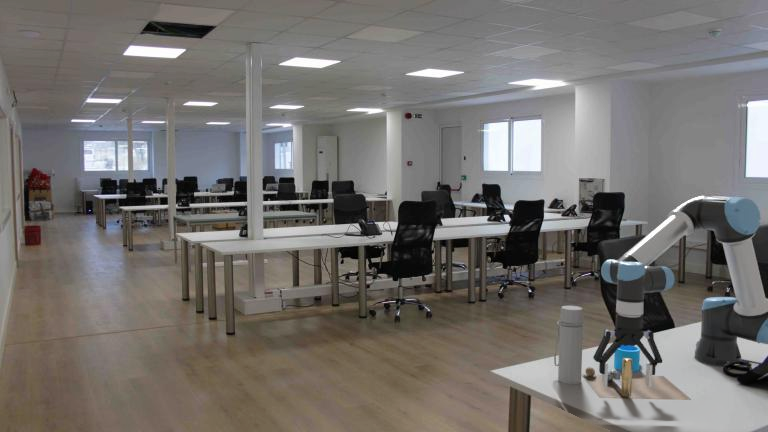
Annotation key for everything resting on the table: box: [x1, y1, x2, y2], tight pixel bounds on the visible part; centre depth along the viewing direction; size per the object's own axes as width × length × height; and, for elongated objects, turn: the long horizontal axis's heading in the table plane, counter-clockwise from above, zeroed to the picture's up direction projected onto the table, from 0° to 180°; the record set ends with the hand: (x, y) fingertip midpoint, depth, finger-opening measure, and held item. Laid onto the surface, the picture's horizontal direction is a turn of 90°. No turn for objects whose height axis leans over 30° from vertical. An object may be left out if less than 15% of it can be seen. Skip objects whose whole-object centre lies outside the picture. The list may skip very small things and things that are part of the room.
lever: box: [607, 358, 633, 397], centre depth 200 cm, size 20×4×11 cm, turn 178°
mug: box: [613, 345, 641, 373], centre depth 221 cm, size 12×8×8 cm
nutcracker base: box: [581, 366, 691, 401], centre depth 202 cm, size 27×21×4 cm
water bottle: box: [553, 305, 584, 385], centre depth 207 cm, size 9×8×25 cm
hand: (626, 384), depth 192 cm, fingers open, 12 cm apart
